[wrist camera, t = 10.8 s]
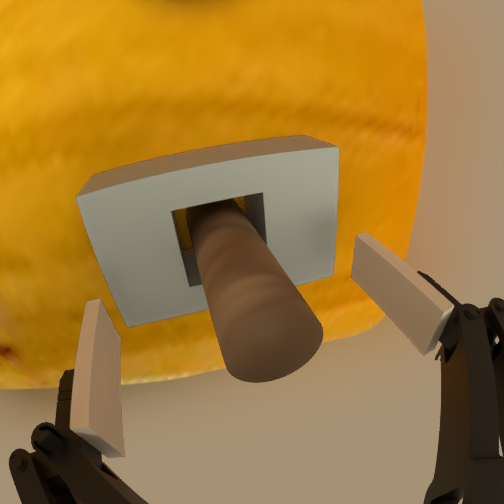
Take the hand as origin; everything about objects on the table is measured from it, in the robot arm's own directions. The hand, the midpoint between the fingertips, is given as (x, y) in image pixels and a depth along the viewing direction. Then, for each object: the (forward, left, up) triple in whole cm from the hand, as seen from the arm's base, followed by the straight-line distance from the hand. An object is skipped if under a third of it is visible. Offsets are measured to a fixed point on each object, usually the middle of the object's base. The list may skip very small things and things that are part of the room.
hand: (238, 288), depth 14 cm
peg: (0, 0, -10) cm, 10 cm away
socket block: (0, 0, -10) cm, 10 cm away
